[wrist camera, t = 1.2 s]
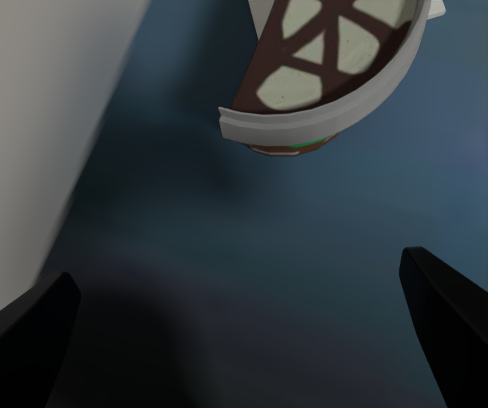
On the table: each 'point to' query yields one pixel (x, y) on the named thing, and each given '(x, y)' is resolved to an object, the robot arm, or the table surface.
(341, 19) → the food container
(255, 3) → the mat
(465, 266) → the table surface
